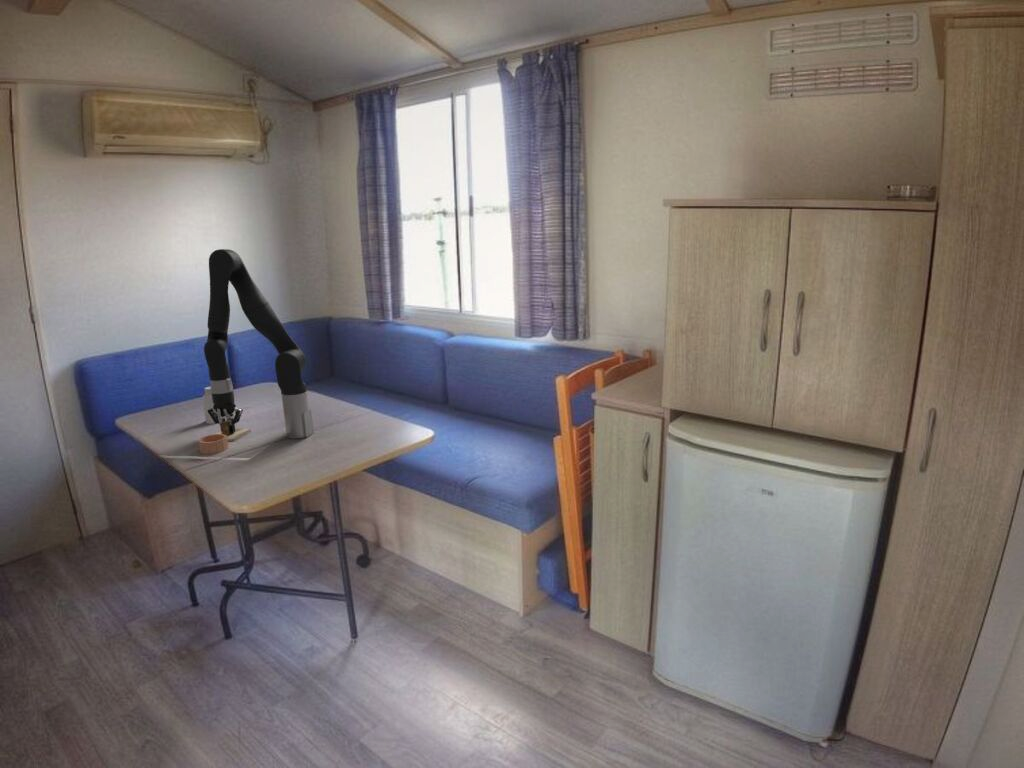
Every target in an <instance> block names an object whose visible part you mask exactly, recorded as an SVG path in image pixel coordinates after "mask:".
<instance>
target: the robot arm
mask: <svg viewBox="0 0 1024 768" xmlns="http://www.w3.org/2000/svg"><path fill="white" fill-rule="evenodd" d="M208 273H209V308H208V316H207V329H208V331H207V332H208V333H207V338H206V340H207V341H206V342H205V343H204V346H203V352H204V353H203V354H204V358H205V361H206V364H207V367H208V376H209V387H210V388H211V394H212V401H213V404H214V406H213V408H211V409H209V410H208V413H209V415H210V416H211V418H212V419H213V421H214V422H215V423H216V424H217V425H219V427H220V428H221V426H220V423H222V422H224V421H225V420H226V419H227V420H228V424H229V431H230V434H234V433H235V429H236V426H235V424H237V423H239V422H240V420H241V417H242V414H243V411H244V410H243V408H239V407H237V405H236V404H235V393H234V386H233V382H232V381H233V380H232V378H231V371H230V368H229V367H230V366H229V364H228V363H227V357H226V351H227V348H228V339H229V338H228V333H229V332H228V329H229V325H230V316H231V306H230V305H231V303H230V297H229V285H230V284H231V285H232V286H233V288H234V290H235V292H236V294H237V297H238V301H239V303H240V306H241V309H242V312H243V313H244V315H245V317H246V319H247V320H248V321H249V322H250V324H251V326H253V328H254V329H255V331H257V332H258V333H259V334H260V335H262V336H263V337H264V338H266V339H267V340H268V341H269V342H270V343H271V344H272V345H273V346H274V348H275V350H276V351H277V353H278V355H277V356H276V359H275V362H274V363H275V364H274V367H275V369H274V370H275V374H276V381H277V386H278V388H279V389H280V394H281V395H280V396H281V401H282V411H283V419H284V426H285V433H286V437H287V439H303V438H308V437H309V436H311V435H312V434H313V433H314V432H315V431H314V421H313V414H312V409H310V407H309V405H310V404H309V398H308V389H307V384H306V383H305V382H304V381H303V378H302V372H301V371H303V370H305V368H306V365H307V359H306V358H307V357H306V355H305V353H304V351H302V349H301V348H300V347H299V346H298V345H297V343H296V342H295V341H294V340H293V338H292V337H291V336H290V335H289V333H288V332H287V330H286V328H285V326H284V325H283V324H282V322H281V321H280V319H279V317H278V316H277V314H276V313H275V310H274V309H273V307H272V306H271V305H270V303H269V302H268V300H267V298H265V296H264V295H263V293H262V291H261V290H260V288H259V287H258V286H257V284H256V283H255V282H254V280H253V278H252V277H251V275H250V273H249V271H248V269H247V267H246V265H245V263H244V261H243V259H242V258H241V255H239V254H238V252H236V251H235V250H232V249H227V248H223V249H222V248H221V249H216V250H214V251H213V252H211V253H210V255H209V258H208ZM216 412H217V413H218V414H217V413H216ZM225 418H226V419H225Z"/></svg>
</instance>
